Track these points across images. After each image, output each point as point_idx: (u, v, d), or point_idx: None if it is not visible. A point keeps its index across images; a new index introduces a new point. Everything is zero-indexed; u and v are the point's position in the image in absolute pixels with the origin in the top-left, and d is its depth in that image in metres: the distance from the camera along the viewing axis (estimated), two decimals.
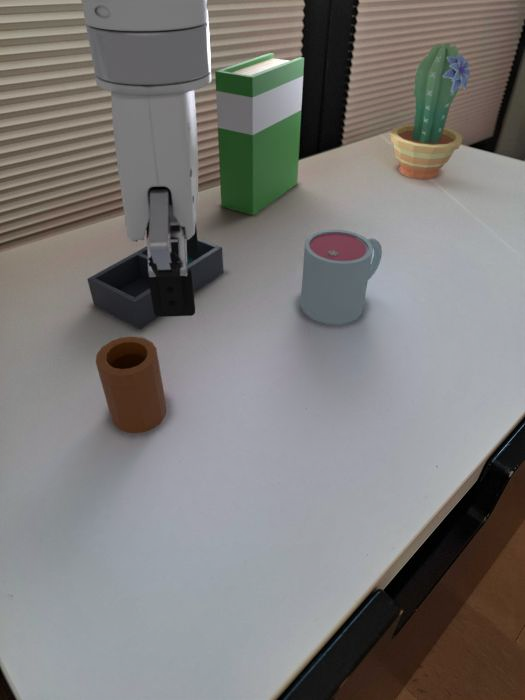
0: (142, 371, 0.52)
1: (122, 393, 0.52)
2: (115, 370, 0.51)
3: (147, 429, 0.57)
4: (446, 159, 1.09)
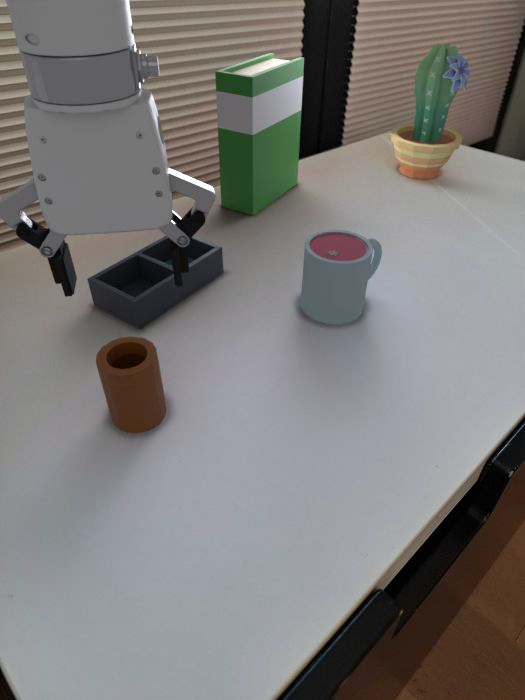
0: (142, 371, 0.52)
1: (122, 393, 0.52)
2: (115, 370, 0.51)
3: (147, 429, 0.57)
4: (446, 159, 1.09)
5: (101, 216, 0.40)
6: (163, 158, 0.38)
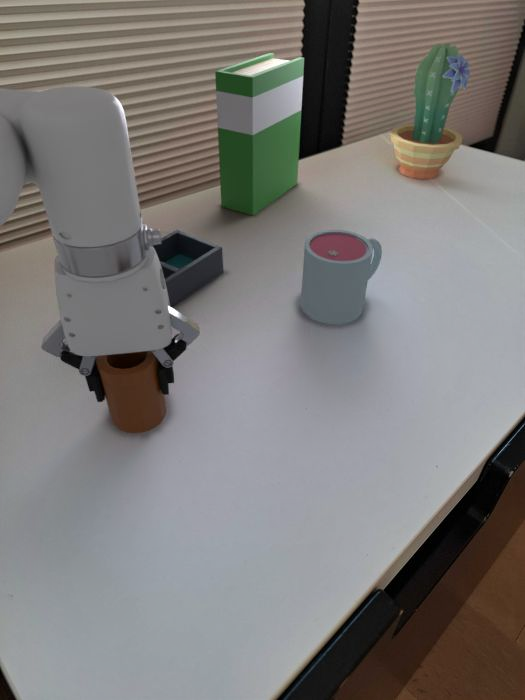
0: (142, 371, 0.52)
1: (122, 393, 0.52)
2: (115, 370, 0.51)
3: (147, 429, 0.57)
4: (446, 159, 1.09)
5: (114, 343, 0.49)
6: (164, 301, 0.48)
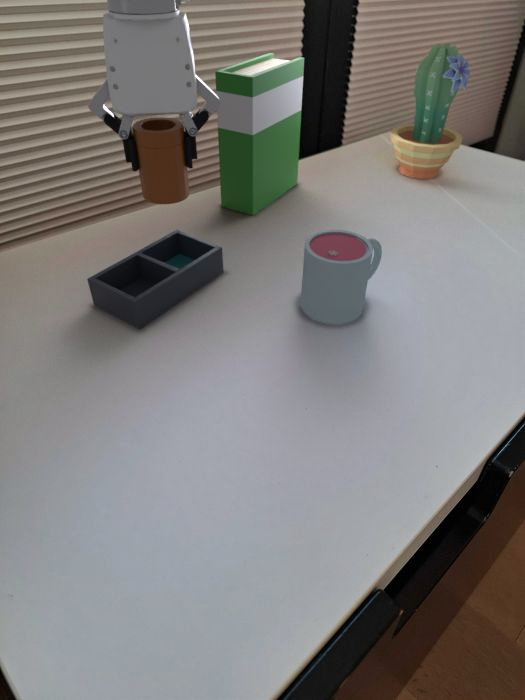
0: (172, 133, 0.61)
1: (154, 154, 0.62)
2: (149, 131, 0.61)
3: (174, 201, 0.66)
4: (446, 159, 1.09)
5: (149, 100, 0.59)
6: (192, 58, 0.57)
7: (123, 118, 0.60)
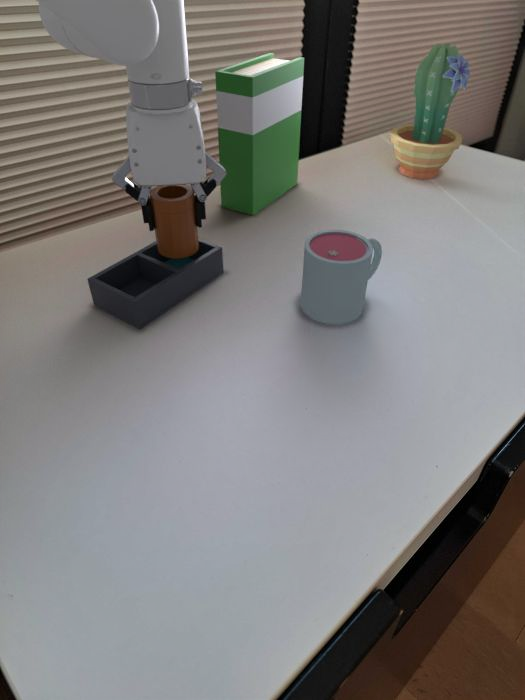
0: (184, 200, 0.70)
1: (169, 218, 0.71)
2: (165, 199, 0.70)
3: (185, 256, 0.75)
4: (446, 159, 1.09)
5: (165, 174, 0.68)
6: (202, 140, 0.66)
7: (142, 188, 0.69)
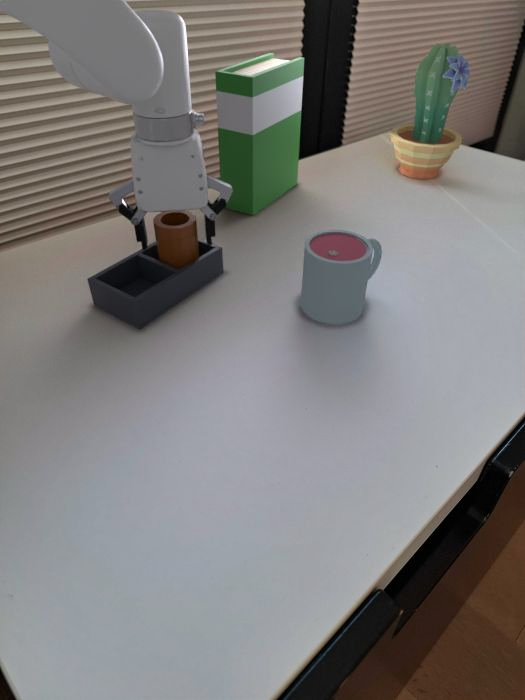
0: (187, 227, 0.73)
1: (172, 244, 0.74)
2: (168, 226, 0.73)
3: None
4: (446, 159, 1.09)
5: (168, 201, 0.70)
6: (204, 168, 0.69)
7: (139, 210, 0.71)
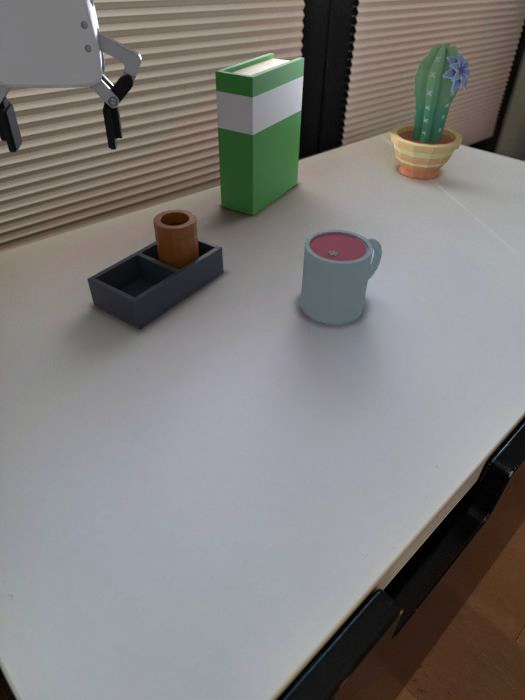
0: (187, 227, 0.73)
1: (172, 244, 0.74)
2: (168, 226, 0.73)
3: None
4: (446, 159, 1.09)
5: (37, 67, 0.46)
6: (91, 15, 0.45)
7: None
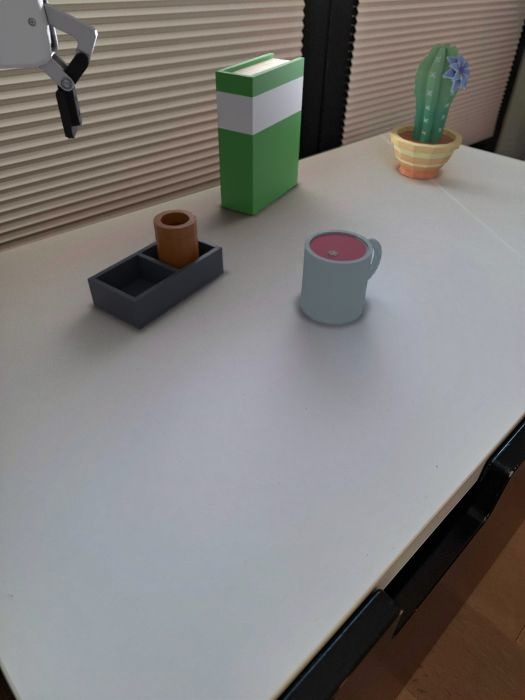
0: (187, 227, 0.73)
1: (172, 244, 0.74)
2: (168, 226, 0.73)
3: None
4: (446, 159, 1.09)
5: None
6: None
7: None
